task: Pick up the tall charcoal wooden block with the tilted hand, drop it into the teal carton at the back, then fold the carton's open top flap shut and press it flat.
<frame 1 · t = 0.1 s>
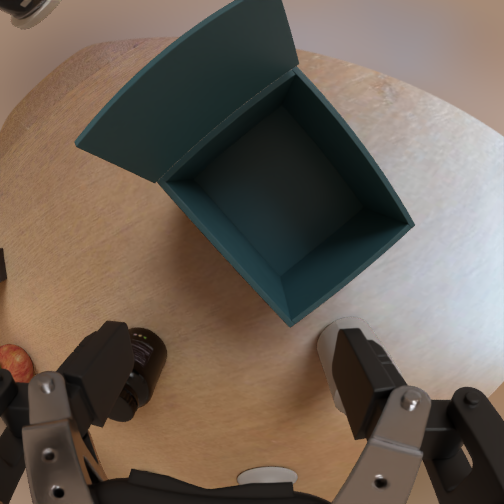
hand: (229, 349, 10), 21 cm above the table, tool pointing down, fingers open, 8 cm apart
chalice: (267, 477, 44), on the table
fruit: (24, 355, 37), on the table
flap: (200, 87, 14), point 15 cm above the table, hinge at 115.0°
can: (343, 338, 35), on the table
supplement bottle: (144, 346, 35), on the table
carton: (281, 191, 30), on the table
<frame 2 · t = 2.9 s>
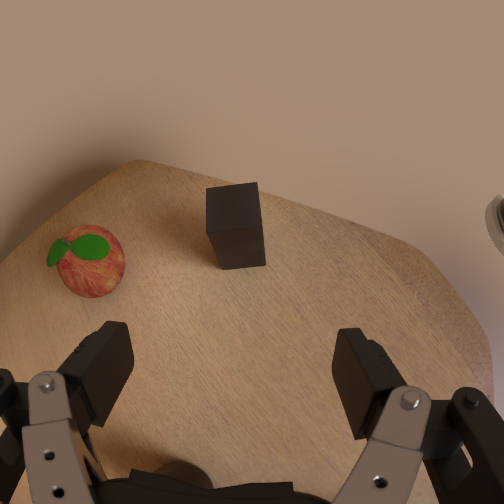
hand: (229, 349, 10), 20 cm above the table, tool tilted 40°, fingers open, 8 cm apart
block: (242, 248, 34), on the table
fruit: (109, 275, 34), on the table
supplement bottle: (185, 485, 23), on the table
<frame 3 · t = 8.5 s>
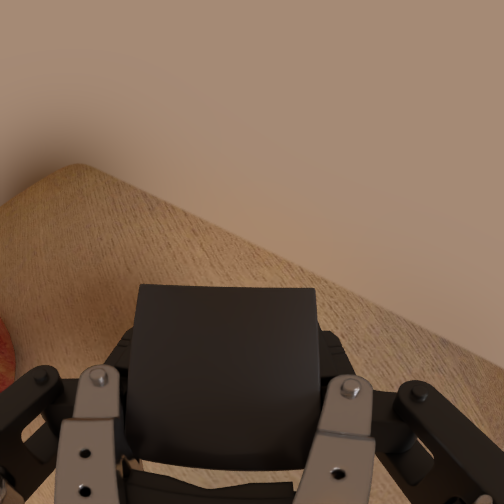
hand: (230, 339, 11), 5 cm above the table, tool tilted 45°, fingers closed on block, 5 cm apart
block: (235, 390, 14), on the table, touching gripper
fruit: (2, 367, 14), on the table
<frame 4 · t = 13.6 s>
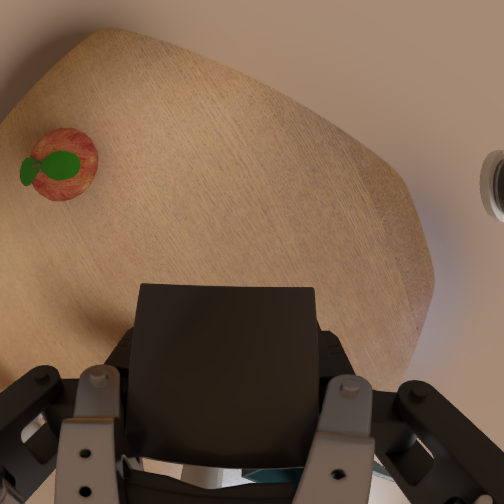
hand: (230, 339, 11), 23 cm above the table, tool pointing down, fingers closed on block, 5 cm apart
block: (235, 389, 14), point 21 cm above the table, tilted 45°, touching gripper
fruit: (83, 164, 31), on the table
flap: (368, 464, 26), point 15 cm above the table, hinge at 115.0°
can: (205, 453, 45), on the table
carton: (300, 423, 42), on the table
when the fingers open (15 cm above the table, at t = 19.5 s): block drops 10 cm and tips over, resting on carton.
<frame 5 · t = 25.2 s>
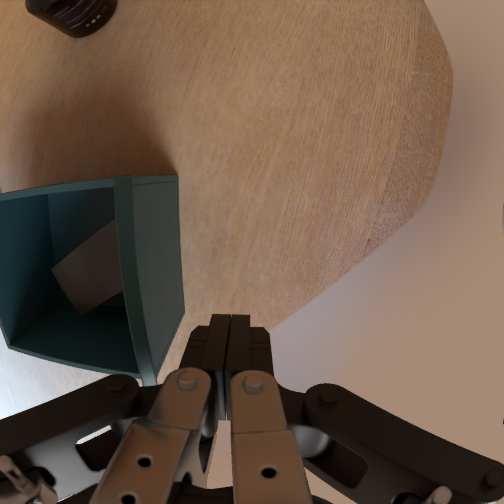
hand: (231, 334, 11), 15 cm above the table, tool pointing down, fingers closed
block: (78, 283, 23), point 3 cm above the table, tilted 90°, touching carton
flap: (140, 331, 11), point 15 cm above the table, hinge at 113.8°, touching gripper
supplement bottle: (92, 15, 19), on the table
carton: (108, 247, 25), on the table
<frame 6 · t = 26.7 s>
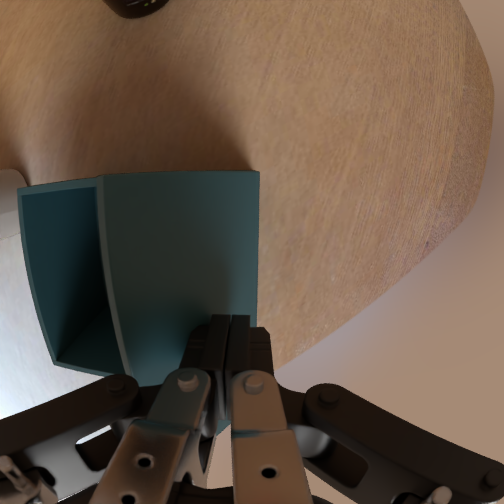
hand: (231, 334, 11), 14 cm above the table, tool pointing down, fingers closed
flap: (202, 338, 11), point 14 cm above the table, hinge at 56.1°, touching gripper
can: (15, 201, 24), on the table
carton: (168, 247, 25), on the table
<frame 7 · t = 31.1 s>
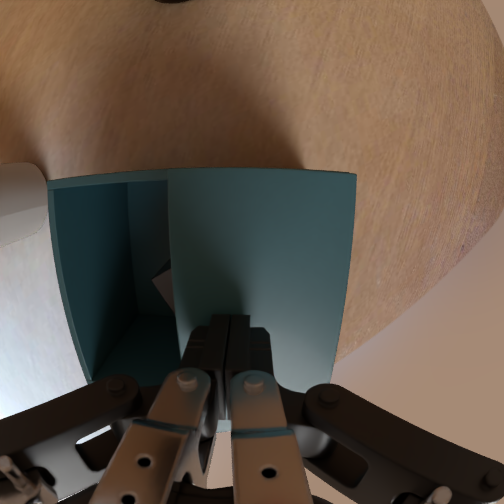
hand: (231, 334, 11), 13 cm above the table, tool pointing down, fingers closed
block: (178, 295, 21), point 3 cm above the table, tilted 90°, touching carton
flap: (265, 326, 12), point 12 cm above the table, hinge at 13.9°, touching gripper
can: (30, 198, 22), on the table
carton: (211, 250, 24), on the table
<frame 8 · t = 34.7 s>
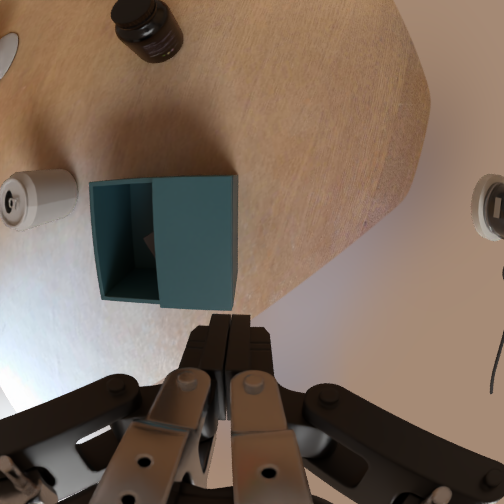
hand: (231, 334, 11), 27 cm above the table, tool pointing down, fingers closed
chalice: (0, 59, 28), on the table
flap: (192, 246, 27), point 11 cm above the table, hinge at -0.1°
can: (63, 193, 36), on the table
supplement bottle: (161, 45, 31), on the table
carton: (181, 224, 37), on the table
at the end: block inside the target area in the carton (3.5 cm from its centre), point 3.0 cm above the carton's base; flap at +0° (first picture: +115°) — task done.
